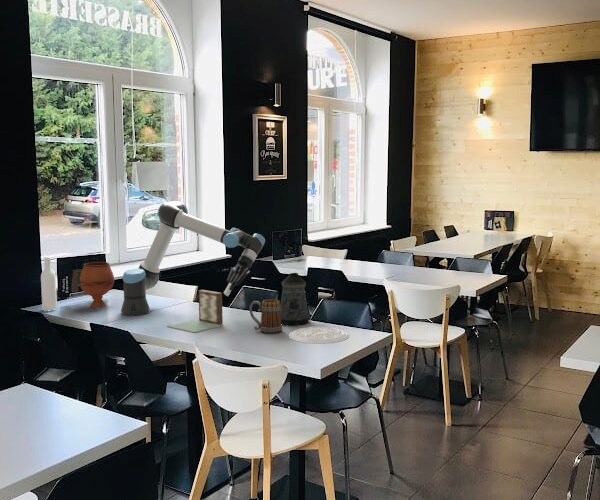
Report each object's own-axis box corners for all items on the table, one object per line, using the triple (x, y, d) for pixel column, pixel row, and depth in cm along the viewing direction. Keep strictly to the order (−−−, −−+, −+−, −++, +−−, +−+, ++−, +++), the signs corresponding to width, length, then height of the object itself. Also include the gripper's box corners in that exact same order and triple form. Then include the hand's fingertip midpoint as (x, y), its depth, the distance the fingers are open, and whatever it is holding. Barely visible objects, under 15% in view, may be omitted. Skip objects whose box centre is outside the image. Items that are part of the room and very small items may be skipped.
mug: (283, 329, 316) (283, 298, 314) (280, 334, 305) (280, 303, 304) (251, 328, 317) (251, 298, 316) (247, 333, 307) (247, 302, 305)
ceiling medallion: (334, 327, 321) (334, 321, 320) (358, 341, 295) (358, 334, 294) (280, 332, 311) (280, 326, 311) (301, 347, 285) (301, 340, 285)
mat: (167, 326, 322) (167, 325, 322) (193, 320, 335) (193, 319, 335) (194, 332, 309) (194, 331, 309) (221, 326, 323) (221, 325, 323)
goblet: (82, 310, 361) (80, 266, 358) (79, 304, 379) (77, 262, 376) (117, 307, 368) (115, 264, 365) (113, 301, 386) (111, 260, 383)
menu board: (199, 321, 334) (198, 290, 332) (203, 320, 336) (202, 289, 335) (218, 325, 325) (217, 293, 323) (222, 324, 328) (222, 292, 326)
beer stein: (281, 327, 320) (281, 277, 317) (272, 318, 339) (272, 271, 336) (313, 324, 325) (313, 275, 322) (303, 316, 343) (303, 270, 340)
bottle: (49, 308, 368) (46, 255, 365) (60, 309, 366) (58, 256, 362) (39, 311, 361) (36, 257, 357) (50, 312, 358) (48, 258, 355)
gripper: (259, 264, 346) (238, 300, 335) (241, 262, 354) (220, 297, 343) (252, 255, 341) (231, 291, 330) (234, 253, 349) (213, 289, 338)
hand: (225, 294), depth 336 cm, fingers closed
